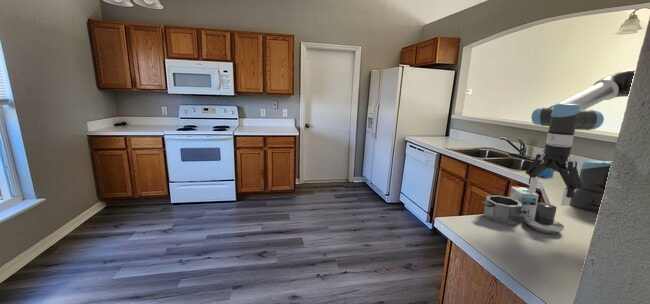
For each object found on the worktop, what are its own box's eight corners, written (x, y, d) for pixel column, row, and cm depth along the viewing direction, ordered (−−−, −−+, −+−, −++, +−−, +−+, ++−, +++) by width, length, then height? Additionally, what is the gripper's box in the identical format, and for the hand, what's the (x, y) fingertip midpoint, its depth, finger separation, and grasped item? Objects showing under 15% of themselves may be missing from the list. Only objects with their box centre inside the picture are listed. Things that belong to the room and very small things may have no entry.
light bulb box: (535, 218, 118) (539, 195, 116) (518, 216, 120) (522, 193, 118) (522, 208, 129) (526, 187, 127) (507, 207, 130) (510, 186, 128)
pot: (506, 211, 126) (509, 194, 124) (531, 223, 113) (534, 205, 112) (472, 212, 123) (474, 196, 121) (494, 226, 110) (496, 207, 109)
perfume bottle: (548, 177, 182) (551, 160, 179) (537, 175, 187) (540, 158, 185) (552, 176, 185) (555, 159, 182) (542, 174, 190) (545, 157, 188)
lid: (540, 221, 116) (545, 199, 114) (571, 235, 104) (576, 211, 102) (515, 222, 114) (519, 200, 112) (543, 237, 102) (548, 212, 100)
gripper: (521, 140, 113) (512, 188, 118) (586, 151, 89) (572, 211, 93) (536, 140, 115) (527, 187, 119) (604, 151, 90) (590, 211, 95)
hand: (547, 198), depth 106 cm, fingers open, 13 cm apart
